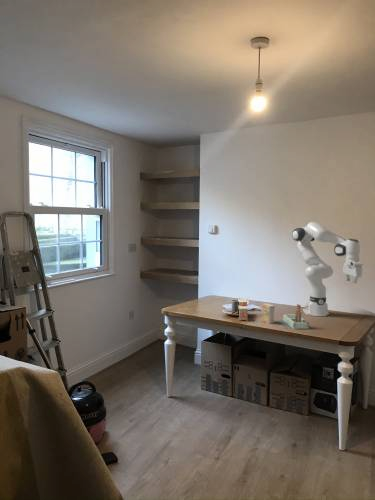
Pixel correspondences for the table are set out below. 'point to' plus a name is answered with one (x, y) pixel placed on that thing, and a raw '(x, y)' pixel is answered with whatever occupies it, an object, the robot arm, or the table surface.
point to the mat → (289, 325)
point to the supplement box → (267, 313)
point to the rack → (290, 321)
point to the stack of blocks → (243, 309)
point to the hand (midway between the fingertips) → (351, 281)
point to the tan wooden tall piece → (298, 314)
